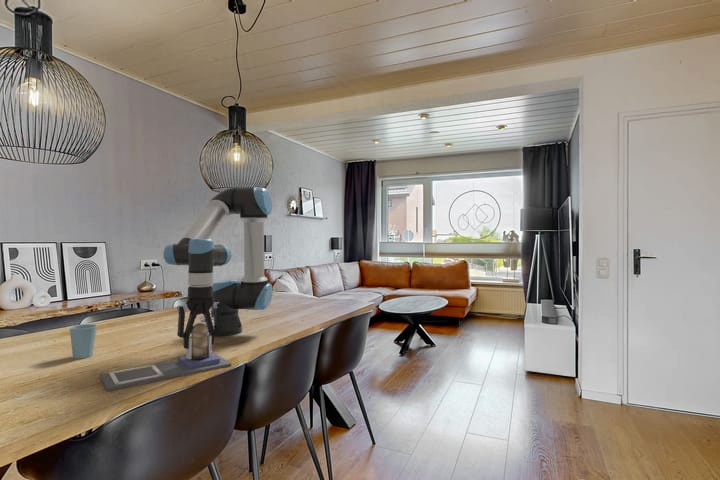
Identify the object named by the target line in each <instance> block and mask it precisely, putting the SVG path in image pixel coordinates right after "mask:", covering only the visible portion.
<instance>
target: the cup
mask: <svg viewBox="0 0 720 480" xmlns="http://www.w3.org/2000/svg"><path fill="white" fill-rule="evenodd" d="M97 328H98V325H97V324H93V323H92V324H91V323H90V324H89V323H87V324H79V325H73V326H70V327H69V335H70V343H71V353H72V359H76V360H79V359H80V360H81V359H87V358H90V357H92V356H93V355H94V348H95V341H96V336H97V335H96V334H97Z"/></svg>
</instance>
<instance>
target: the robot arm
mask: <svg viewBox="0 0 720 480" xmlns="http://www.w3.org/2000/svg"><path fill="white" fill-rule="evenodd" d="M272 211H273V200H272V197H271V194H270V192H269V190H268V189H266V188H264V187H257V186H255V187H229V188H227V189H224V190H222V191H221V192H219V193H217V194H216V195H215V196H213V197H212V198H211V199H210V200H209V201H208V203H207V205H206V209H205V210H204V211H203V213H202V214H201V215H200V216H199V217H198V219H197V220H196V221H195V222H194V223H193V224H192V225H191V227H190V228H189V229H188V230H187V232H186V233H185V234H184V235H183V236H182V238H181V239H180V240H179V241H178V243H169V244H167V245H166V246H165V248H164V250H163V252H162V253H163V259H164V261H165V263H166V264H168V265H173V266H188V273H187V275H188V277H187V284H188V287H187V299H186V300H187V301H186V302H185V303H184V304H183V305H177V306H176V307H177V311H178V318H177V319H178V322H177V337H179V338H180V339H181V338H182V339H183V349H185V350H186V353H185V354H186V355H185V356H186V358H188V359H191V356H192V338H191V337H190V336H191V331H192V327H193V326H194V325H195V320H196V319H197V316H198V315H203V317H205V321H206V324H207V328H208V331H209V334H207V353H208V356H211V353H212V352H211V349H212V345H215V336H217V337H218V336H219V337H222V336H232V335H237V334H241V333H242V332H243V325H242V321H241V318H240V315H239V310H252V311H253V310H254V311H265V310H266V309H267V308H269V306H270V304H271V301H272V298H273V290H274V289H273V285H272V284H271V283H269V281H268V280H269V279H268V277H266V276H265V222H266V220H267V219H268V215H271V214H272ZM230 215H239V219H240V220H241V221H243V222H242V223H243V254H244V255H243V263H244V265H243V268H244V271H243V273H244V276H243V277H242V278H241V279H240V280H239V279H227V280H222V281H216V282H214V267H222V266H225V265H227V264H229V263H230V261H231V259H232V251H231V249H230V247H228V246H226V245H224V244H214V241H213V239H211V238H210V237H211V236H212V234H213V233H214V232H215V230H216V229H217V228H218V226H219V225H220V223H221V222H222V221H223V220H225V219H227V218H228V217H229V216H230ZM187 309H188V311H189V315H188V320H187V322H186V325H185V320H186V312H187ZM211 317H214V327H213V324H212V320H211Z"/></svg>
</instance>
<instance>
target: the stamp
mask: <svg viewBox="0 0 720 480" xmlns="http://www.w3.org/2000/svg"><path fill="white" fill-rule="evenodd" d="M207 333H208V328H207V326H206V325H205V324H203V323H199V322H198V323H194V324H193V327H192V331H191V334H190V336H191V337H190V338H192V356H191V360H202V359H206V358H208V353H207Z"/></svg>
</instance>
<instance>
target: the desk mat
mask: <svg viewBox="0 0 720 480" xmlns="http://www.w3.org/2000/svg"><path fill="white" fill-rule="evenodd" d="M230 366H232V362H230V361H229V360H227V359H225V358H223V357H222V356H220V355H218V354H217V353H216V352H215V353H212V352H211V356H208V358H206V359H202V360H191V359H188V358H186V355H181V356H178V357H177V359H176V360H171V361H165V362H160V363H155V364H148V365H144V366H143V365H142V366H137V367H132V368H125V369H120V370H115V371H108V372H104V373H103V372H102V373H100V374H99V376H100V379H101V381H102V383H103V385H104V387H105V389H106V391H107V392H108V391H109V392H110V391H113V390H114V391H115V390H118V389H123V388H129V387H133V386H139V385H143V384H149V383H154V382H157V381H164V380H169V379H173V378H177V377H182V376H188V375H192V374H197V373H202V372H208V371H211V370H216V369H221V368H226V367H230Z"/></svg>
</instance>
